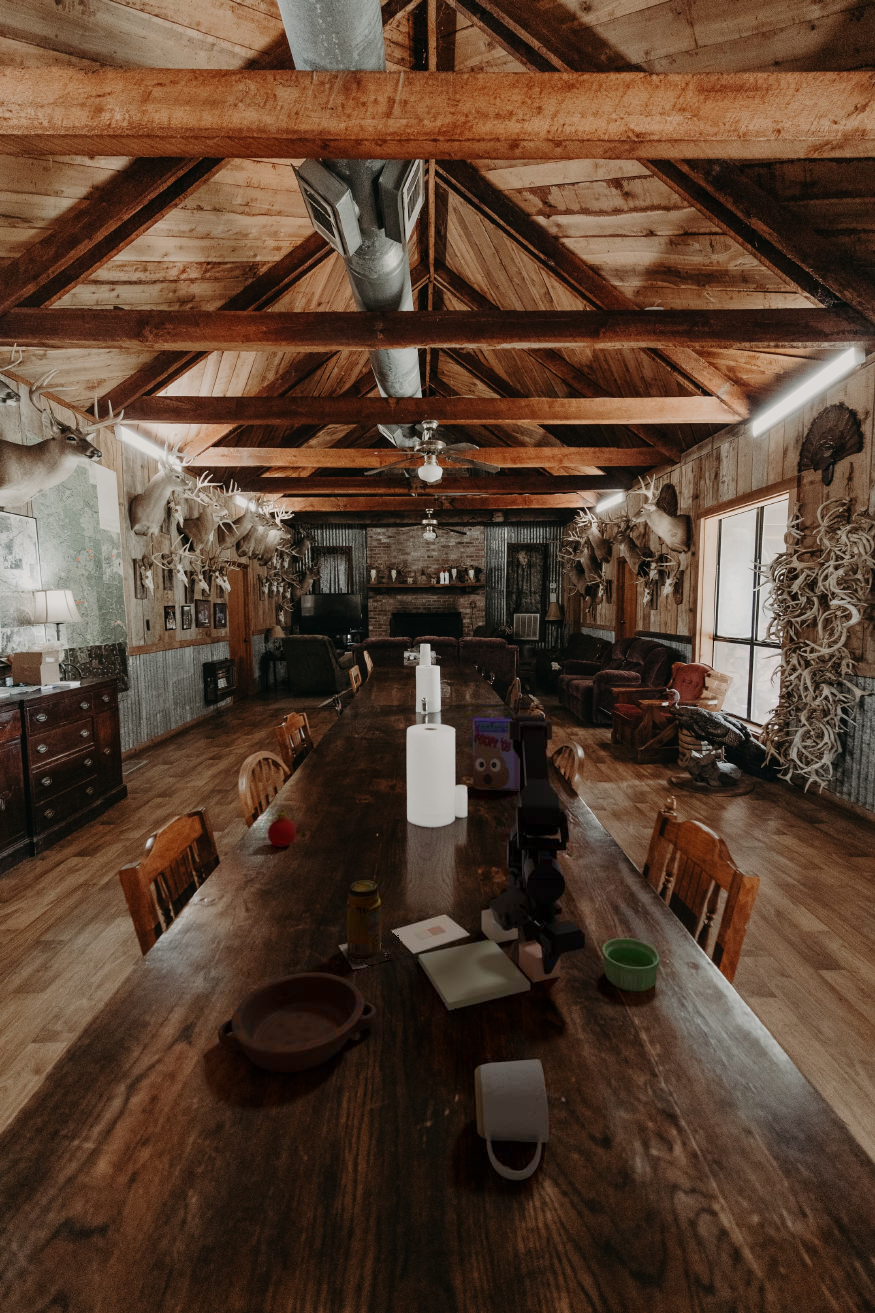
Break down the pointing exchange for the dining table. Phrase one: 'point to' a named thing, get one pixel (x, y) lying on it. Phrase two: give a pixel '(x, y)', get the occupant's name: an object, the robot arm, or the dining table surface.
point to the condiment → (362, 923)
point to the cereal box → (494, 755)
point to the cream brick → (496, 928)
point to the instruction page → (430, 933)
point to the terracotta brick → (535, 962)
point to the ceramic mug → (512, 1108)
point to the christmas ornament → (282, 831)
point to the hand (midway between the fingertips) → (539, 965)
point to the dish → (297, 1021)
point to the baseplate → (472, 974)
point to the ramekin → (630, 964)
